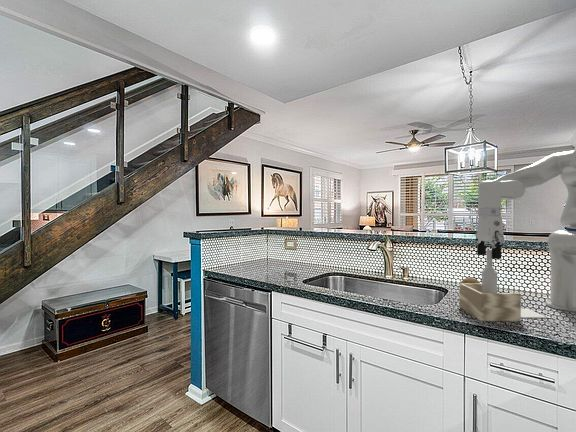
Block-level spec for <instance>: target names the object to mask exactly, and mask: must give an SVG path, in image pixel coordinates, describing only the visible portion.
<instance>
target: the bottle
mask: <svg viewBox="0 0 576 432" xmlns="http://www.w3.org/2000/svg"><path fill="white" fill-rule="evenodd" d="M485 256H486V266H485V268H484V269H482V270H481V283H482V293H498V271H497V270H496V269H494V266H493V259H492V249H486V255H485Z"/></svg>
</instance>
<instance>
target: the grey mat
mask: <svg viewBox="0 0 576 432" xmlns="http://www.w3.org/2000/svg"><path fill="white" fill-rule="evenodd" d="M521 319H548V316H545V315H543V314H540V313H538V312H536V311H534V310H532V309H530V308H521Z"/></svg>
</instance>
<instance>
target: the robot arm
mask: <svg viewBox="0 0 576 432" xmlns="http://www.w3.org/2000/svg"><path fill="white" fill-rule="evenodd" d="M558 176H560V179H561V180H562V183H564V184H565V186H566V189H567V193H568V194H567V198H566V202H565V204H564V207H563V209H562V213H561V217H560V224H561V225H562V226H563V227H565V228H566V229H572V230H566V229H565V230H564V229H563V230H556V231H553V232H551V233H550V234H549V235H548V238H547V246H548V250H549V256H550V299H548V300H546V301H545V305H546V306H547V307H549V308H552V309H556V310H560V311H566V312H572V313H576V149H573V150H568V151H567V150H565V151H562V152H555V153H552V154H550V155H548V156H545V157H544V158H542V159H540V160H537V161H536V162H534V163H532V164H530V165H528V166H525V167H523V168H520V169H518V170H515V171H513V172H509V173H506V174H504V175H502V176H500V177H497V178H496V179H494V180H484V181H483V180H482V181H480V182H479V184H478V194H477V198H478V201H477V203H478V204H477V217H478V218H477V219H478V220H477V228H476V233H475V234H474V235H475V241H476V255H478V256H487V255H486V250H487V243H491V246H492V248H491V250H492V260H500V259H502V249H503V246H504V242H505V239H506V238H505V236H504V223H503V217H502V201H511V200H512V201H513V200H519V199H520V198H522V197H523V196H524V195H525V193H526V189H529V188H533V187H537V186H541V185H543V184H545V183H547V182H549V181H551V180H553V179H554V178H556V177H558Z"/></svg>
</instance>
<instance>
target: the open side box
mask: <svg viewBox="0 0 576 432" xmlns="http://www.w3.org/2000/svg"><path fill="white" fill-rule="evenodd" d="M521 296H522V294H521V293H519V292H499V293H498V292H497V293H482V282H480V283H461V282H459V308H460V309H462V310H463V311H465V312H466V313H468V314H470V315H471V316H472V317H474V318H476V319H478V320H479V321H481V322H521V321H522V318H521V309H522V302H521V301H522V297H521Z"/></svg>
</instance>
